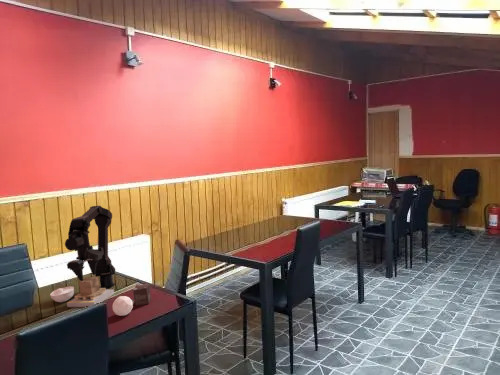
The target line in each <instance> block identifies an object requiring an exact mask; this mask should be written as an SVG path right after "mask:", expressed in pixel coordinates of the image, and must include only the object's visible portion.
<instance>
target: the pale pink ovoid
mask: <svg viewBox="0 0 500 375" xmlns="http://www.w3.org/2000/svg"><path fill="white" fill-rule="evenodd" d="M133 305H135V300H134V299H131V298H130V296H125V295H122V296H118V297H117V298H116V299H115V300H114V301H113V303H112V311H113V312H114V314H115V315H116V316H120V317H124V316H127V315H128V314H129V313H131V311H132V309H133V307H134V306H133Z"/></svg>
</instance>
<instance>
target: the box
mask: <svg viewBox="0 0 500 375" xmlns="http://www.w3.org/2000/svg"><path fill="white" fill-rule="evenodd" d="M150 288H151V287H150V284H149V283H144V284H136V285H135V286H134V288H133V289H132V292H133V298H134V299H133V300H134V305H135V306H143V305H149V304H150V302H151V301H152V294H151V289H150Z"/></svg>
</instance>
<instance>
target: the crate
mask: <svg viewBox="0 0 500 375" xmlns="http://www.w3.org/2000/svg"><path fill="white" fill-rule="evenodd" d="M78 285H79V291H80V292H79V293H81V294H93V293H95V292H96V291H98V290H100V288H99V287H100V280H99V276H97V277H96V276H94V277H93V276H91V277H85V278H83V281H80V280H79V281H78Z"/></svg>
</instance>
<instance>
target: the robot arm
mask: <svg viewBox="0 0 500 375" xmlns="http://www.w3.org/2000/svg"><path fill="white" fill-rule="evenodd" d="M112 219H113V213H112V212H111V211H110V209H108V208H104V207H102V205H93V206H90V207H89V209H88V210H87V211H86V212H84V213H83V214H82V215H81V216H79V217H75V218H73V219H71V220H70V224H69V228H68V233H67V236H68V237H67V239H66V240H65V241H64V245H65V246H64V247H65V248H66V249H67V250H68V251H75V252H77V253H76V254H77V256H76V257H75V259H73V260H70V261H67V264H66V266H67V270H70V271H72V272H73V273H74V275H75V276H76V277H77V279H78V280H79V282H80V281H83V279H84V274H83V272H84V271H83V270H84V268H85V266H84V265H85V263H86V262H87V265H88V267H89V269H90V272H91V274H92V275H95V277H99V288H106V289H111V288H112V287H114V286H115V285H117V283H116V282H114V278H113V275H115V274H116V268H115V266H114V265H113V264H112V259H111V258H110V256H109V227H110V225H111V224H112V221H113V220H112ZM93 220H94V224H95V225H96V227H97V238H98V239H97V248H95V249H94V248H93V247H94V246H93V245H90V244H91V243H90V238H89V234H90V230H89V228H90V226H91V222H92V221H93Z"/></svg>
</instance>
